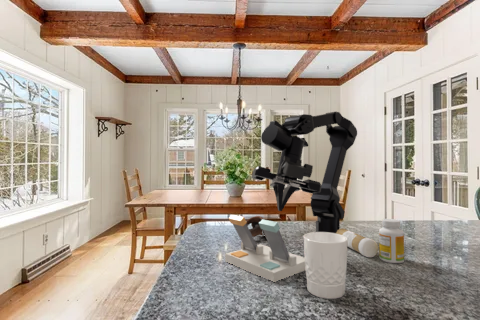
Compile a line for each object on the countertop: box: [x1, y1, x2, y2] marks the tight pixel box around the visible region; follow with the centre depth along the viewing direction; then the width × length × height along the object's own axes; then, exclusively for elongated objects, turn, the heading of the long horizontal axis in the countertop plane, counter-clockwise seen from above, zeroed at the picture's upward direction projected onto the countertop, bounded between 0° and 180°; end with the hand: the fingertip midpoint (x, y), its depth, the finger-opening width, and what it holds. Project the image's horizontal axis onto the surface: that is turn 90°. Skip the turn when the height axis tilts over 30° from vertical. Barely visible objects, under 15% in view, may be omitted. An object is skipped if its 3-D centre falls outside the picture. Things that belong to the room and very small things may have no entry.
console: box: [224, 241, 306, 283], centre depth 66 cm, size 12×16×4 cm
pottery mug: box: [246, 215, 265, 238], centre depth 89 cm, size 12×9×8 cm
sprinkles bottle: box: [336, 227, 379, 258], centre depth 77 cm, size 5×5×13 cm
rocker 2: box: [259, 218, 290, 263], centre depth 61 cm, size 1×4×10 cm, turn 41°
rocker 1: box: [228, 214, 258, 252], centre depth 68 cm, size 1×4×10 cm
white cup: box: [303, 231, 348, 300], centre depth 52 cm, size 8×8×10 cm
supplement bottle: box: [378, 218, 405, 264], centre depth 69 cm, size 5×5×10 cm
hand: (279, 210), depth 76 cm, fingers closed
